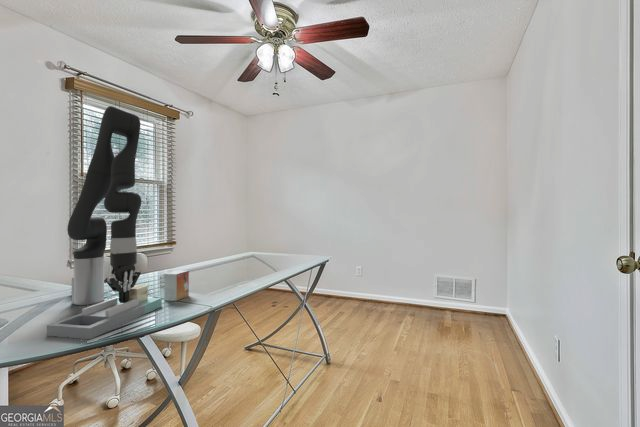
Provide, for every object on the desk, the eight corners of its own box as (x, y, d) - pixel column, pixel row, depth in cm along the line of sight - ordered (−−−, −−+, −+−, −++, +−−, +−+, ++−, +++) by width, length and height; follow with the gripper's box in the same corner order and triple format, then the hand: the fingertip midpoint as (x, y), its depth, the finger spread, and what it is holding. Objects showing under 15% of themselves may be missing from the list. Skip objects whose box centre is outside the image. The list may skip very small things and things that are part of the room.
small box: (176, 301, 118) (176, 274, 118) (163, 300, 119) (163, 273, 119) (189, 295, 126) (189, 270, 125) (177, 295, 127) (177, 269, 127)
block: (124, 302, 106) (124, 288, 106) (135, 298, 111) (135, 285, 111) (137, 303, 105) (137, 289, 105) (147, 299, 110) (147, 285, 110)
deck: (46, 335, 85) (46, 318, 85) (127, 304, 114) (127, 291, 114) (90, 339, 83) (90, 321, 83) (161, 306, 112) (161, 292, 112)
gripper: (129, 248, 110) (129, 296, 110) (96, 253, 97) (97, 307, 97) (147, 248, 109) (148, 297, 109) (117, 253, 96) (117, 308, 96)
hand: (124, 302), depth 103 cm, fingers closed
